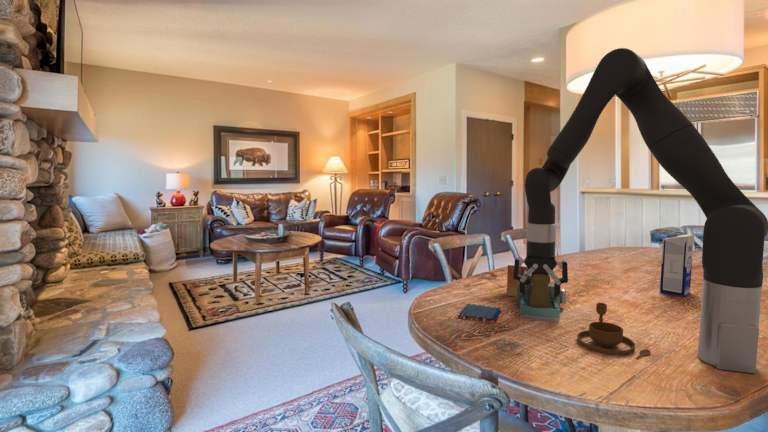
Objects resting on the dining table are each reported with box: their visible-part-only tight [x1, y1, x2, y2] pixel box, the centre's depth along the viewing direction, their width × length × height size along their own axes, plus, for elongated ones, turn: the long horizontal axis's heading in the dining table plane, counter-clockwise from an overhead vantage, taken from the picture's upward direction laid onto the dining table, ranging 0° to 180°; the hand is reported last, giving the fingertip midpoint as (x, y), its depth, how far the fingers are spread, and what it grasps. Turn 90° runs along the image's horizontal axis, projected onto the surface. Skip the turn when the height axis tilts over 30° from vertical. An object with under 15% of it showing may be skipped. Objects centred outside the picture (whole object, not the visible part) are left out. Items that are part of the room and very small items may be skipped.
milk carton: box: [659, 232, 695, 297], centre depth 132 cm, size 7×7×20 cm
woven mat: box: [457, 303, 502, 324], centre depth 114 cm, size 10×11×2 cm
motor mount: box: [516, 274, 567, 324], centre depth 116 cm, size 16×14×10 cm
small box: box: [506, 261, 527, 298], centre depth 131 cm, size 8×6×10 cm
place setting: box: [576, 302, 652, 361], centre depth 95 cm, size 18×20×6 cm
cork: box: [529, 274, 551, 308], centre depth 112 cm, size 6×6×11 cm
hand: (539, 295), depth 113 cm, fingers open, 8 cm apart
